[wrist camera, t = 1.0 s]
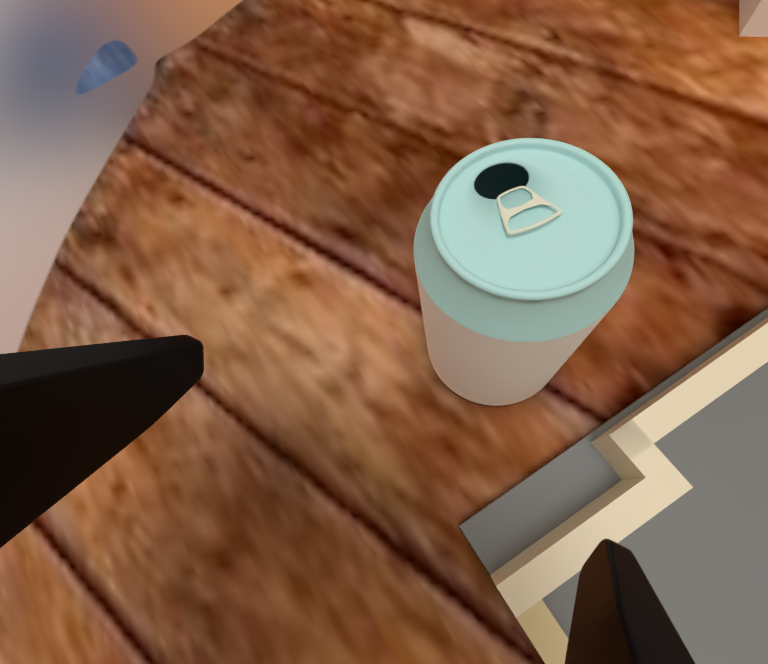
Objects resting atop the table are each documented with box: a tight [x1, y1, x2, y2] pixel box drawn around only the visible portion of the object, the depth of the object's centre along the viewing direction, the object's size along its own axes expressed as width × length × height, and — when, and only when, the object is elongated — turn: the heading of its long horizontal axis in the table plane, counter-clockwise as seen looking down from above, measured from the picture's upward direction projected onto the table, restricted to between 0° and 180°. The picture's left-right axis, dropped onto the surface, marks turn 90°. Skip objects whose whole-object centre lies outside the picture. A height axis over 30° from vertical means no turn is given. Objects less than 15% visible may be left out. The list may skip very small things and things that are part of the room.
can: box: [413, 138, 634, 406], centre depth 18 cm, size 7×7×12 cm
